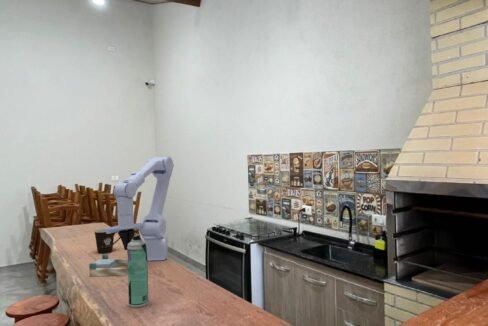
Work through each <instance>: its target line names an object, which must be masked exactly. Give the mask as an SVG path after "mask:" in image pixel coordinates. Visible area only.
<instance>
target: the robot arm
mask: <svg viewBox="0 0 488 326" xmlns="http://www.w3.org/2000/svg"><path fill="white" fill-rule="evenodd" d="M174 166H175V164H174V161H173V159H172V157H171V156H156V157H155V156H151V157H149V158H148V159H146V163H145V165H144V166H142V167H141V169H140V170H138V171H132V172H131V173H130V175H129V176H128V177H127V178H125V179H124V180H123V181H122V182H119V183H117V184H116V185H115V186H114V188H113V190H112V194H113V195H114V198H115V202H116V203H117V208H116V209H117V225H115V226H111V227H105V229H106V233H107V234H110V233H114V232H117V235H118V236H119V237H120V240H121V242H122V246H123V249H124V251H127V247H128V243H130V242H131V241H132V239H133V238H134V235H136V234H135V233H136V231H135V230H139V235H141V236H142V239H143V241H145V242H146V243H147V244H146V245H147V262H151V261H153V262H155V261H165V260H166V259H167V258H168V256H169V254H168V253H169V251H168V248H169V247H168V238H167V237H165V236H164V235H165V234H166V231H167V230H166V229H167V228H166V223H167V221H166V219H165V218H164V217H163V213H164V208H165V203H166V199H167V194H168V190H169V186H170V181H171V177H172V175H173V170H174ZM151 174H152V176H153V177H154V178H155V179H156V180H157V181H156V184H155V189H154V192H153V196H152V201H151V205H150V209H149V213H148V214H146V215H145V216H144V217H143V219H142V222H139V223H134V222H135V221H134V220H135V219H134V197H135V196H136V193H137V191H138V189H139V188H140V187H141V186H142V185H143V184H145V181H146V178H147V177H148V176H149V175H151Z"/></svg>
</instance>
